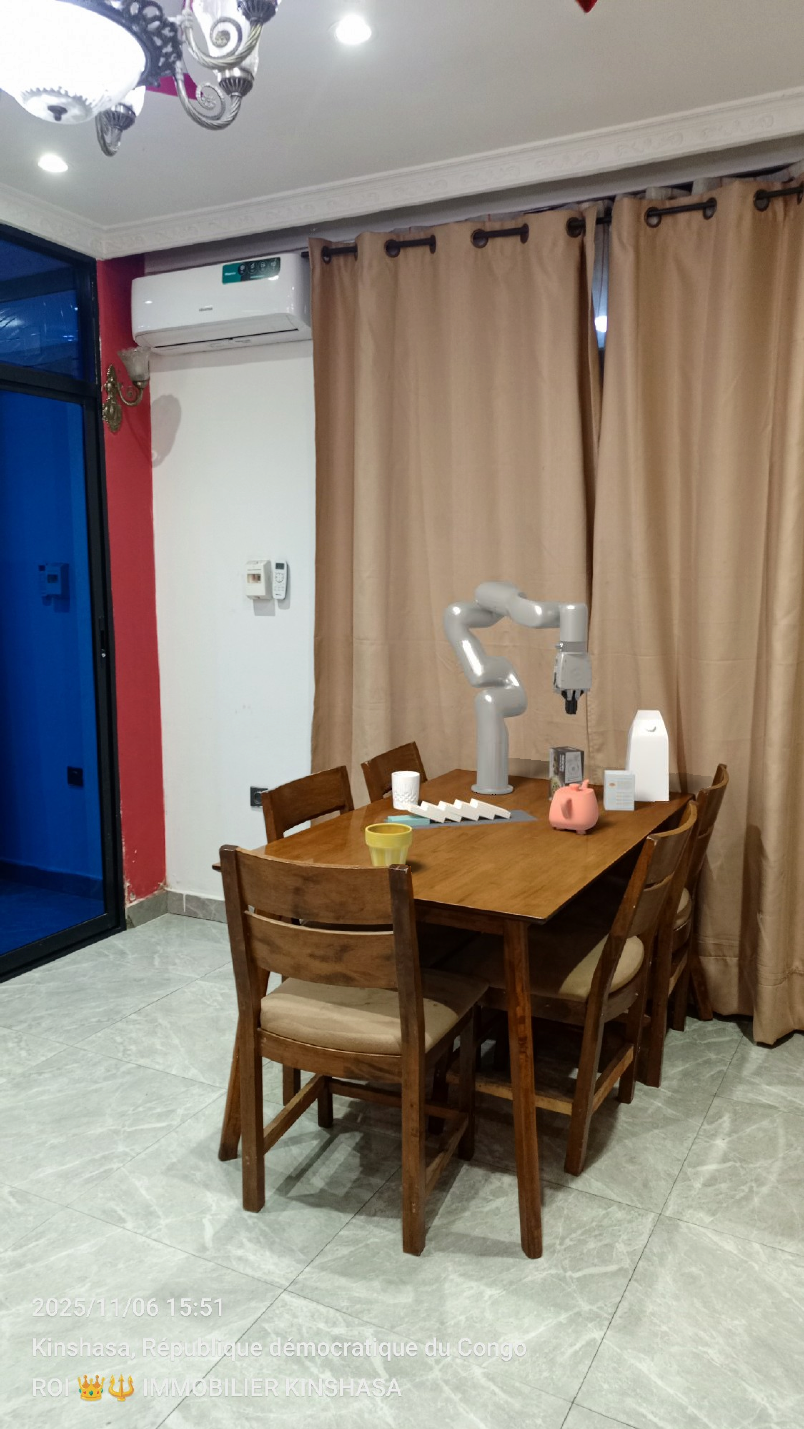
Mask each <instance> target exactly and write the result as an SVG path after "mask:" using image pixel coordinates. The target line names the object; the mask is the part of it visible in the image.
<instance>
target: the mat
mask: <svg viewBox="0 0 804 1429" xmlns="http://www.w3.org/2000/svg"><path fill="white" fill-rule="evenodd" d="M507 811H508V812H510V813H511V814H510V817H509V819H508V818H505V817H502V816H499V815H496V814H495V816H494V818H493V820H492V819H489V818H486V817H483V816H480V815H479V818H478V821H476V820H473V819H469V818H466V817H463V816H462V818H461V820H460V821H463V822H457V821H454V820H451V819H449V818H446V817H445V820H444V821H451V822H444V823H441V822H435V821H436V820H433V819H430V824H429V825H415V826H410V827H411V828H412V830H424V829H425V830H426V829H436V828H438V829H439V828H441V827H438V826H451V827H452V826H453V827H465V826H477V825H478V826H479V825H491V824H492V825H493V824H503V823H505V824H506V823H516V822H517V823H520V822H530V821H531V822H532V821H533V822H534V821H535V822H536V821H539V819H538V818H536V817H534V816H532V815H531V814H529V813H528V812H526V811H524V810H522V809H511V810H507ZM382 821H383V822H384V823H388V818H384V819H382ZM467 821H468V822H467ZM459 824H460V825H459ZM451 827H450V828H451Z"/></svg>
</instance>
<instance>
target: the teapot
mask: <svg viewBox="0 0 804 1429" xmlns="http://www.w3.org/2000/svg"><path fill="white" fill-rule="evenodd" d="M589 782H590V780H589V779H588V778H587V779H583V783H582V786H581V787H580V784H575V783H572V784H569V786H565V787H562V788H560V789H558V790H557V791H556V792H555V794H554V797H553V800H552V801H551V804H550V808H549V814H548V821H549V822H550V826H552V828H553V827H554V828H555V830H556V831H557V830H558V831H563V830H565V829H567V830H574V831H576V832H575V833H576V835H579V834H585V835H586V834H587V832H586V831H587V830H589V829H591V828H593V827H594V826H595V825H596V823H597V822H598V819H599V806H598V801H597V797H596V794H595V790H594V789H593V788H590V787H589V788H588V785H589Z"/></svg>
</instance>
